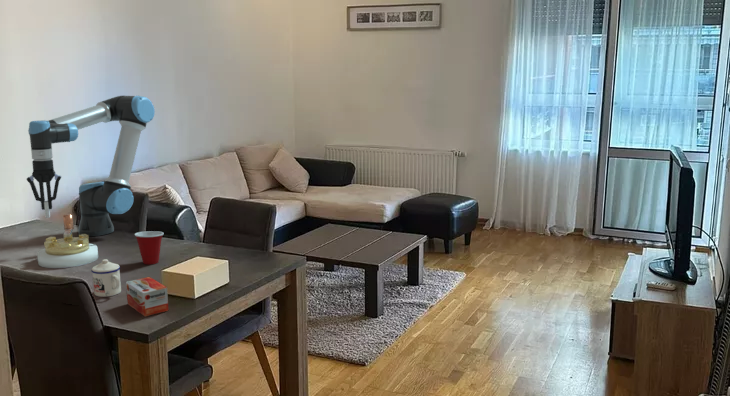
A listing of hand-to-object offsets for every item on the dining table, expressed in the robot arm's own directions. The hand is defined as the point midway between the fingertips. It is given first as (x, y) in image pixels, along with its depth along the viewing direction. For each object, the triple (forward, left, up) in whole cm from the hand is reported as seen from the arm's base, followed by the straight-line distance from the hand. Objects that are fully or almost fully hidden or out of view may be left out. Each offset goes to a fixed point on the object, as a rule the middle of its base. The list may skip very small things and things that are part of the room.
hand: (47, 217), depth 284 cm
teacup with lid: (-13, +65, -16) cm, 68 cm away
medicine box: (-22, +85, -16) cm, 89 cm away
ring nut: (-6, +11, -11) cm, 16 cm away
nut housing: (-5, +14, -15) cm, 21 cm away
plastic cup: (-33, +34, -16) cm, 50 cm away
